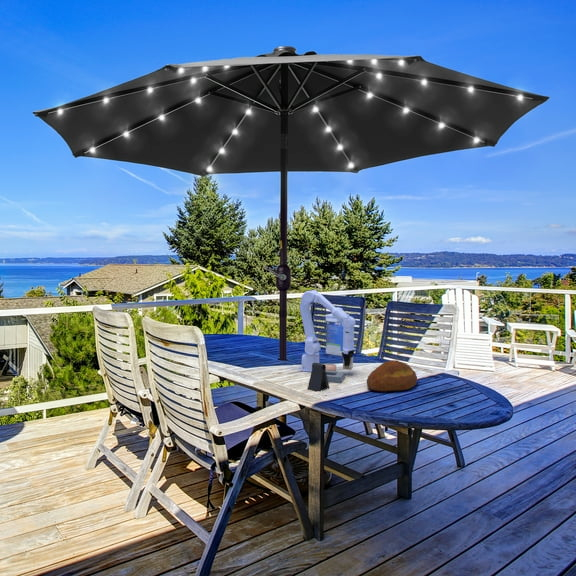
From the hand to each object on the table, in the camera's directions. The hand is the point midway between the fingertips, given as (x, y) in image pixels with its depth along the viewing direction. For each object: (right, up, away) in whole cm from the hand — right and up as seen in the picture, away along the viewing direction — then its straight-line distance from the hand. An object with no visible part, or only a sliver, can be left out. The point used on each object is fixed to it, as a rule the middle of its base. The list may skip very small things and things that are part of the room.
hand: (347, 364), depth 248 cm
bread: (+19, -7, -23) cm, 30 cm away
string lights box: (0, -2, +56) cm, 56 cm away
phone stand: (-18, -7, -29) cm, 34 cm away
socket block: (-10, -6, -11) cm, 16 cm away
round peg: (-9, -5, 0) cm, 11 cm away
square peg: (0, -2, 0) cm, 2 cm away
